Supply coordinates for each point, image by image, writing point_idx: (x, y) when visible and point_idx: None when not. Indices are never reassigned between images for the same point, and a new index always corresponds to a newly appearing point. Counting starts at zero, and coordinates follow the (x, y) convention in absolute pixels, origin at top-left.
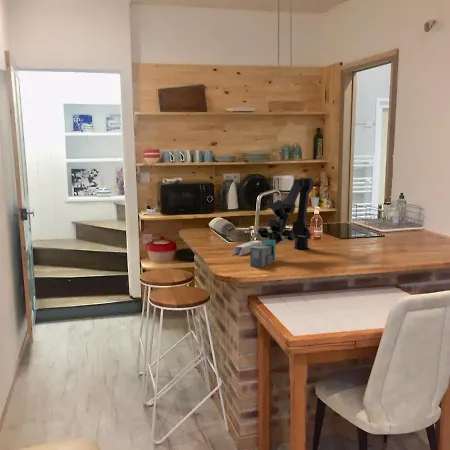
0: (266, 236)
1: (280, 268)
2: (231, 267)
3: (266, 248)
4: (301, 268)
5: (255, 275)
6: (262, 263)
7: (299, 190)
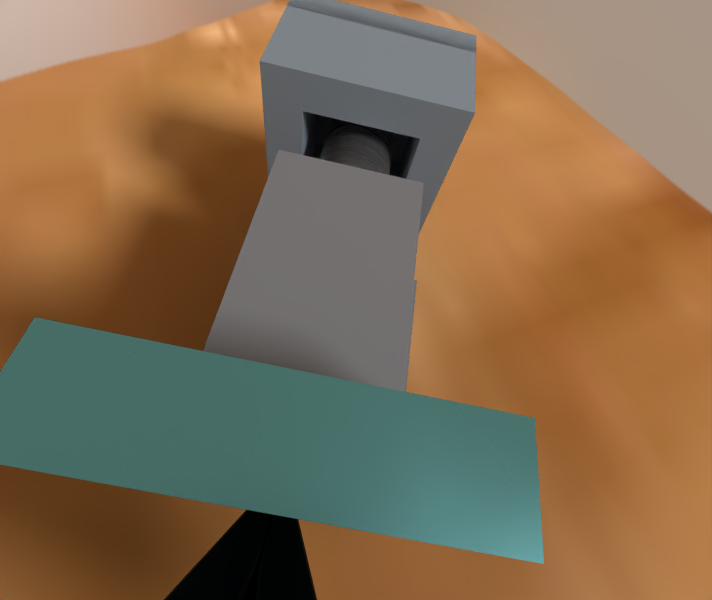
0: None
1: (99, 202)
2: (510, 151)
3: (270, 178)
4: None
5: (269, 27)
6: None
7: None
